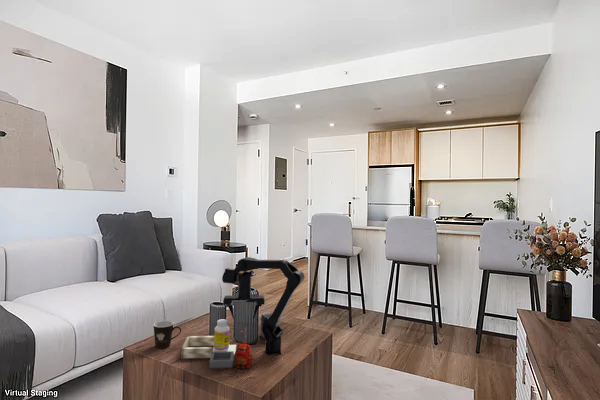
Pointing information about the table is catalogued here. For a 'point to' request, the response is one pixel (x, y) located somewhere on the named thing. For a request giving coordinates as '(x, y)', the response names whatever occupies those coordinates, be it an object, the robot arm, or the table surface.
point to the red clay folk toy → (243, 355)
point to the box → (263, 322)
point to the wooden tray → (197, 351)
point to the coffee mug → (163, 333)
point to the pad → (231, 348)
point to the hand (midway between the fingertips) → (243, 318)
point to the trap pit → (221, 360)
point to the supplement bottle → (221, 336)
